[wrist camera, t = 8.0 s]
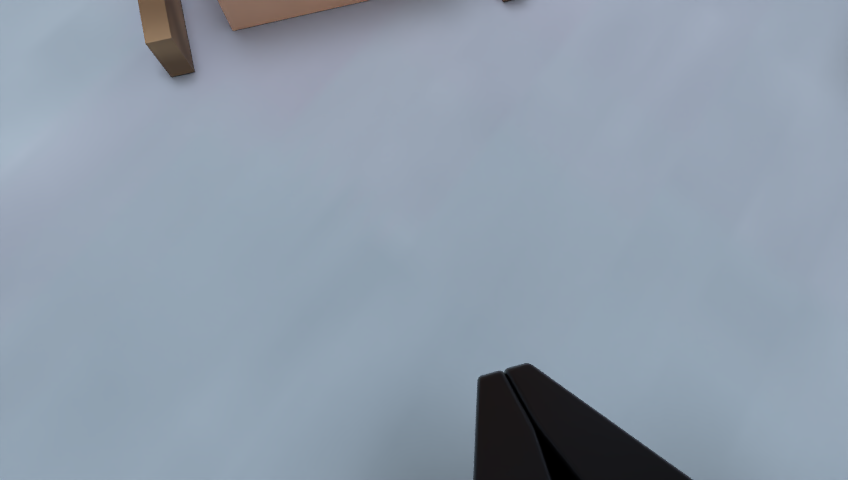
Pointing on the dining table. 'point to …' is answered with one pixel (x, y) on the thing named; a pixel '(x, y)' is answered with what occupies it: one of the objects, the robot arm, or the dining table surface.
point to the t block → (273, 10)
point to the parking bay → (168, 34)
